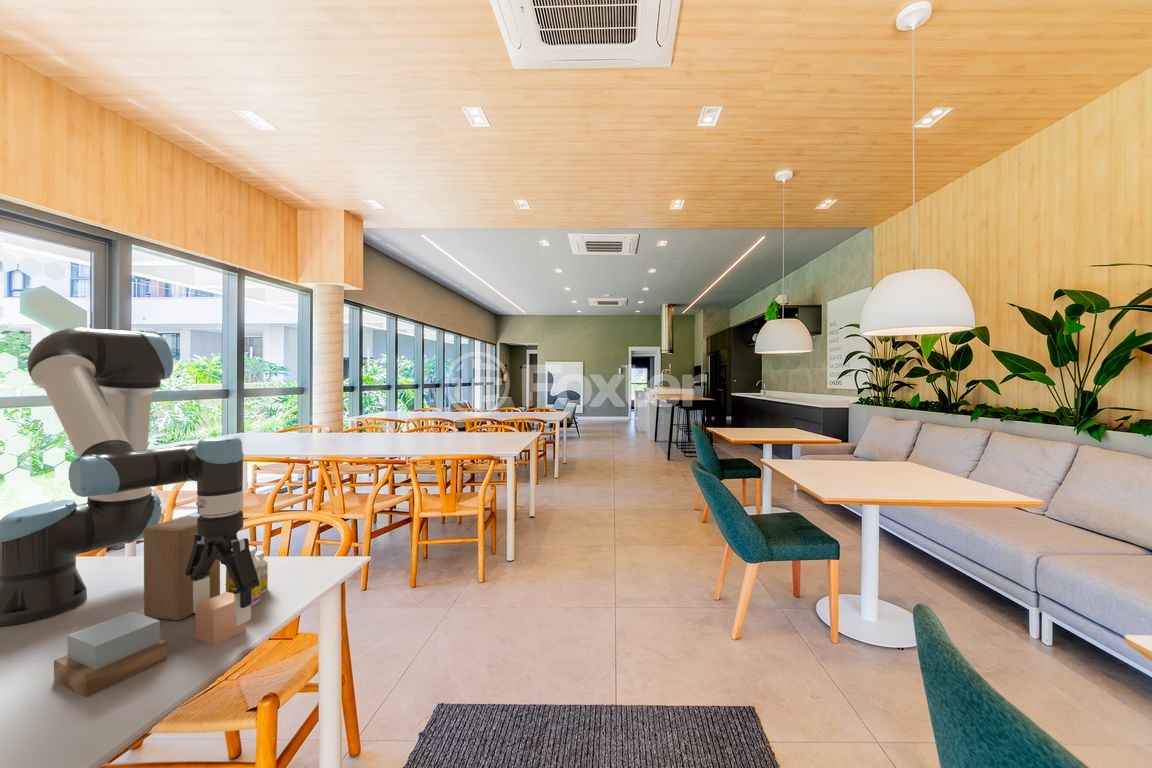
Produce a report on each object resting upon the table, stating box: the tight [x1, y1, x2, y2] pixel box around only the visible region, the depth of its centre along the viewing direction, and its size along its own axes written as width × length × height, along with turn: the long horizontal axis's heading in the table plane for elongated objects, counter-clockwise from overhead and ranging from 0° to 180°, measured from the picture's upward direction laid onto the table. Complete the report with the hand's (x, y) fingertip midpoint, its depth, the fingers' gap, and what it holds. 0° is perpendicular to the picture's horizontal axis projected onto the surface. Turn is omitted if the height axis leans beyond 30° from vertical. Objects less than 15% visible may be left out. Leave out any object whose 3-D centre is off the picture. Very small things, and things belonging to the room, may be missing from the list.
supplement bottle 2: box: [255, 550, 269, 595], centre depth 115 cm, size 5×5×10 cm
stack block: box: [194, 591, 246, 646], centre depth 96 cm, size 6×6×7 cm
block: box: [143, 515, 221, 621], centre depth 106 cm, size 10×10×20 cm
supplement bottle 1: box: [225, 545, 262, 607], centre depth 108 cm, size 7×7×13 cm
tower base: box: [53, 638, 167, 698], centre depth 84 cm, size 11×11×4 cm
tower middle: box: [67, 611, 161, 670], centre depth 84 cm, size 9×9×4 cm
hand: (221, 616), depth 96 cm, fingers open, 13 cm apart
